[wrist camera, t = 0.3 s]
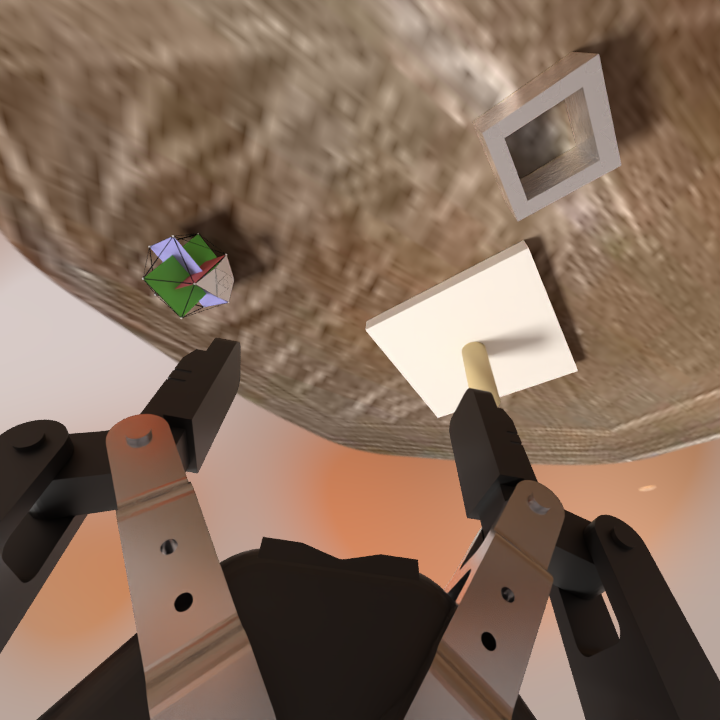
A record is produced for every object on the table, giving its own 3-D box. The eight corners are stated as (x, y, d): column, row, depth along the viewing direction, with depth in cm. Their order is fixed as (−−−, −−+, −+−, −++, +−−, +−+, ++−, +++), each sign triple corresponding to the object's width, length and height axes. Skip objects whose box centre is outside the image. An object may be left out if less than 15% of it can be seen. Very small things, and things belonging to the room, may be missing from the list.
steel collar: (571, 51, 22) (599, 53, 19) (595, 150, 25) (621, 165, 22) (472, 121, 24) (482, 133, 21) (505, 202, 28) (517, 221, 25)
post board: (523, 240, 30) (557, 293, 23) (572, 361, 38) (607, 425, 32) (366, 321, 37) (359, 379, 30) (437, 408, 45) (443, 468, 39)
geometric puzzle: (181, 317, 36) (187, 343, 29) (124, 259, 32) (118, 275, 25) (239, 275, 37) (257, 291, 30) (192, 214, 33) (202, 218, 26)
